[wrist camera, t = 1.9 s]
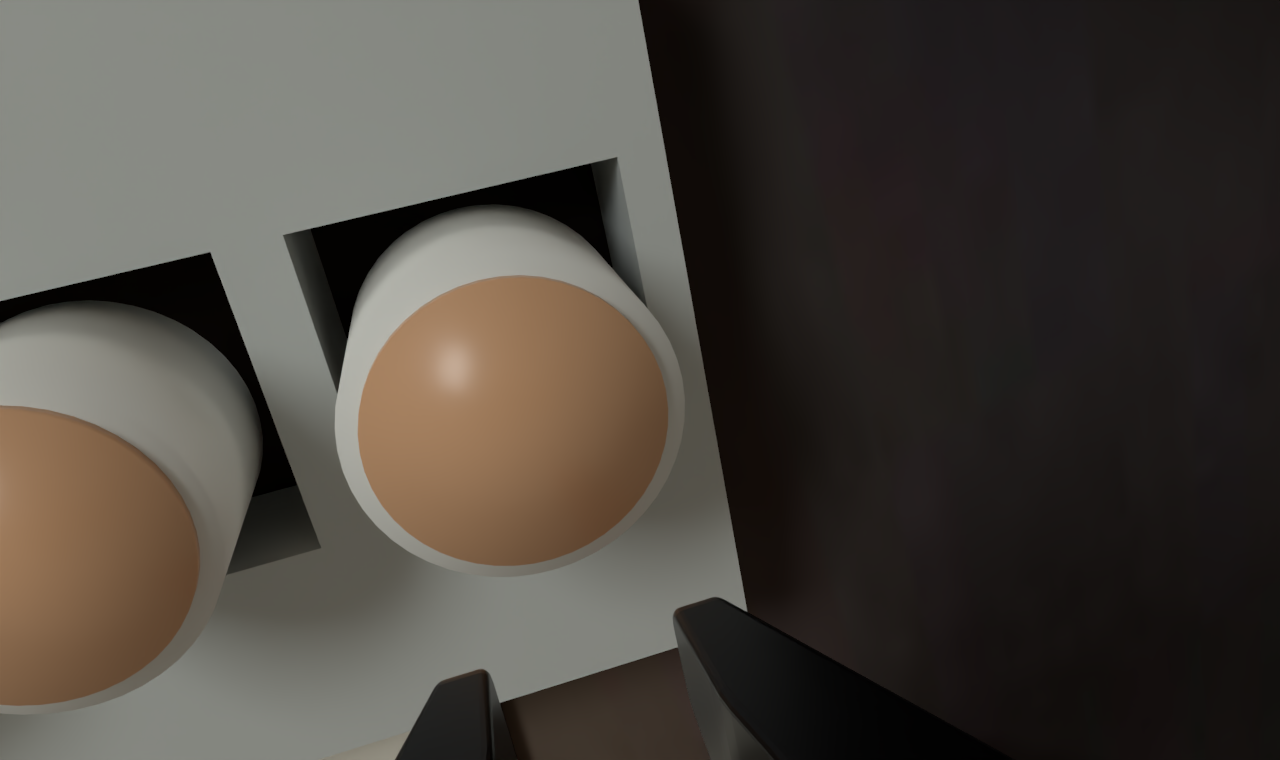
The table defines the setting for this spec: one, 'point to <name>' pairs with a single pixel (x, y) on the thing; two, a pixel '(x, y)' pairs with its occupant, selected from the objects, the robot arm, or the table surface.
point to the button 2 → (504, 395)
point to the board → (315, 339)
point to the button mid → (113, 498)
